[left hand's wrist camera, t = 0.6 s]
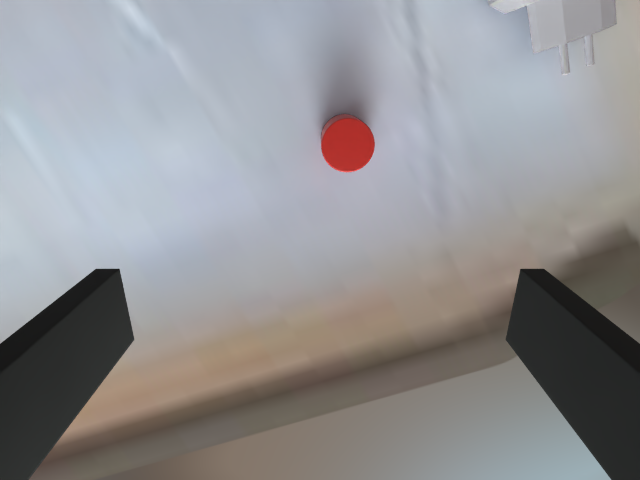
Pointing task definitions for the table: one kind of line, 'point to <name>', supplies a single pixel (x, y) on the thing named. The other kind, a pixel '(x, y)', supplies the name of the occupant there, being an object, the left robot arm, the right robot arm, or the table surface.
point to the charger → (563, 23)
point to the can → (347, 143)
